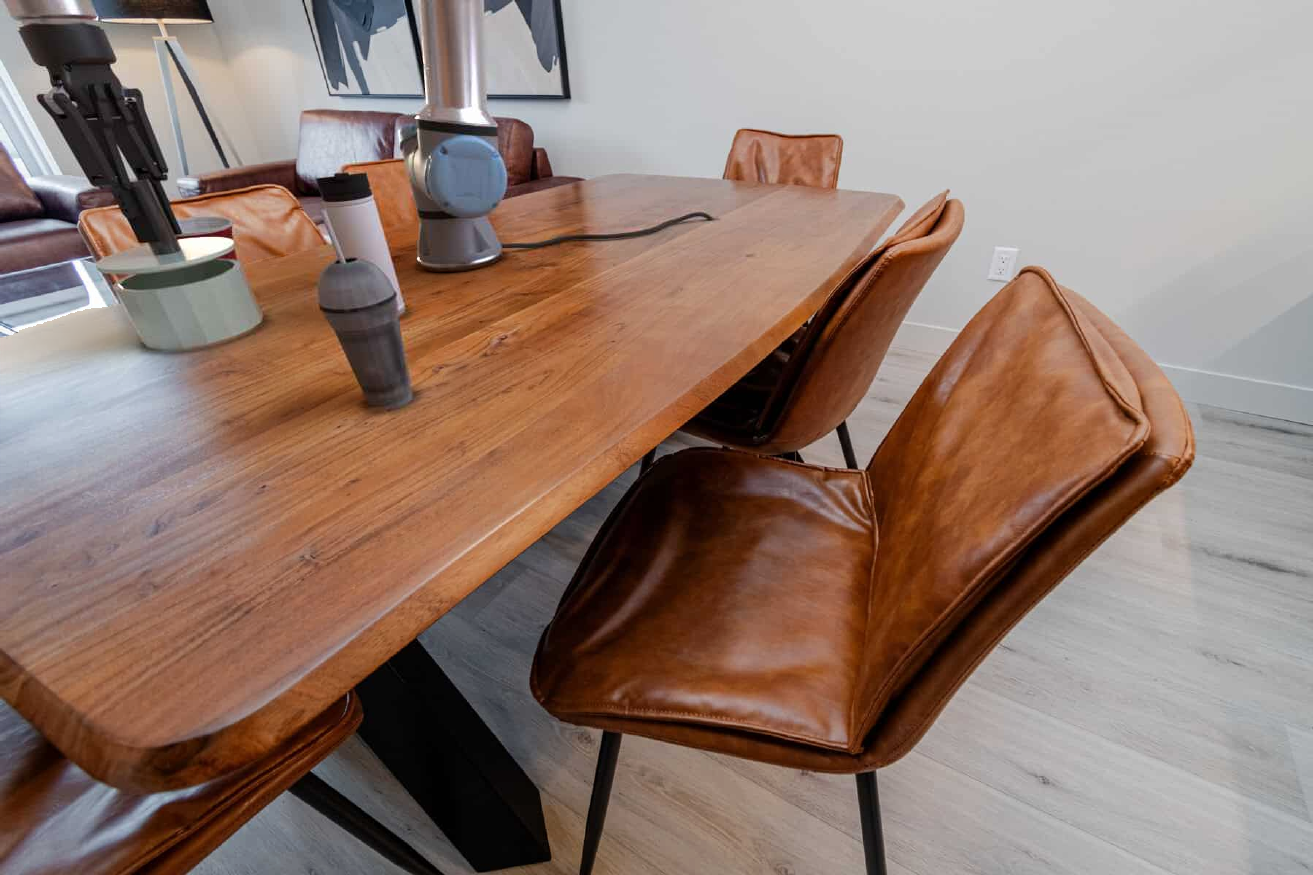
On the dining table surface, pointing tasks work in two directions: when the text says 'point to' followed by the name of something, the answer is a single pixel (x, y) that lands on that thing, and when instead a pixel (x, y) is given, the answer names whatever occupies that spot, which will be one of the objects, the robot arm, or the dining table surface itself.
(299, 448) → the dining table surface
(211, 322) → the bowl
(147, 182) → the lid
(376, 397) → the beverage cup
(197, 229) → the plastic cup
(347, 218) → the travel mug
